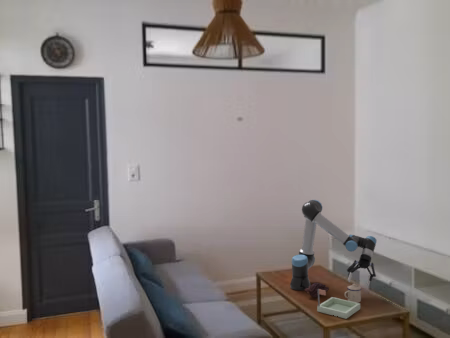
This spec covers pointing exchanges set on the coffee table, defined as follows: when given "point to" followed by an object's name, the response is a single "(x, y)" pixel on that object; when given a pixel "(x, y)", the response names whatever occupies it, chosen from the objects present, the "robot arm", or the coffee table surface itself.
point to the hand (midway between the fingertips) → (357, 283)
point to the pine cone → (316, 289)
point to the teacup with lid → (354, 293)
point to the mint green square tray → (337, 306)
